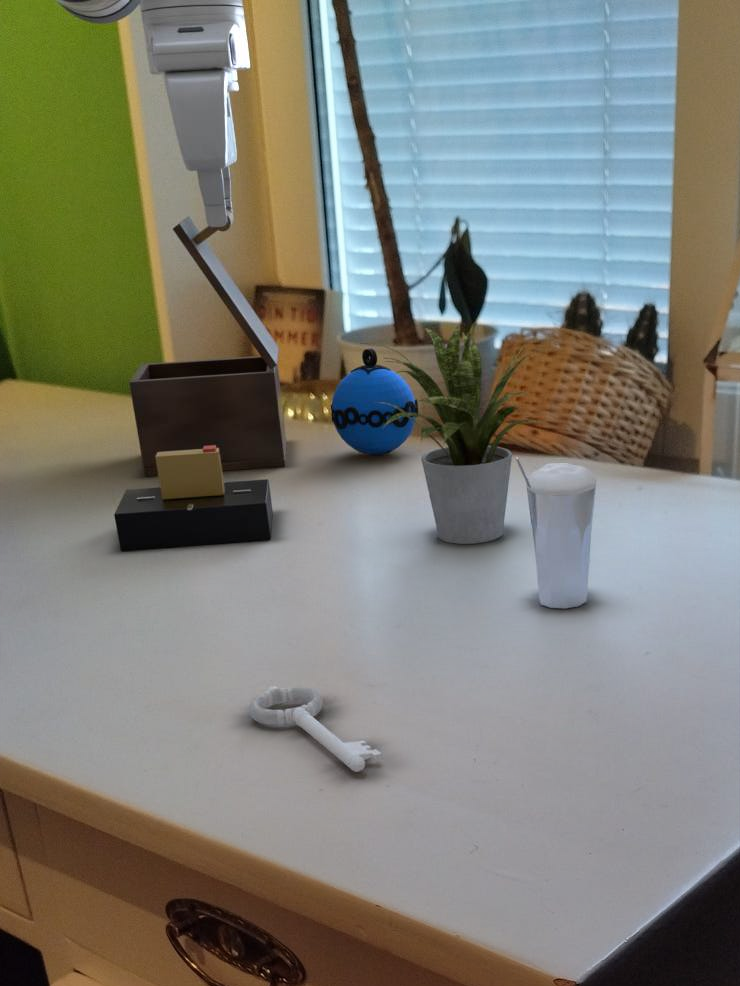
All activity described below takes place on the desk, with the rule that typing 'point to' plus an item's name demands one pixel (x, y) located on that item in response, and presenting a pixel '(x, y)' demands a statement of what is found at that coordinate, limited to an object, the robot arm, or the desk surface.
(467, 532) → the house plant
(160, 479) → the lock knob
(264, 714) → the key
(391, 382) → the ornament
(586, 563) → the milkshake
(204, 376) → the box
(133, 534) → the panel
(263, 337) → the lid
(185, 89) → the robot arm
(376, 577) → the desk surface
